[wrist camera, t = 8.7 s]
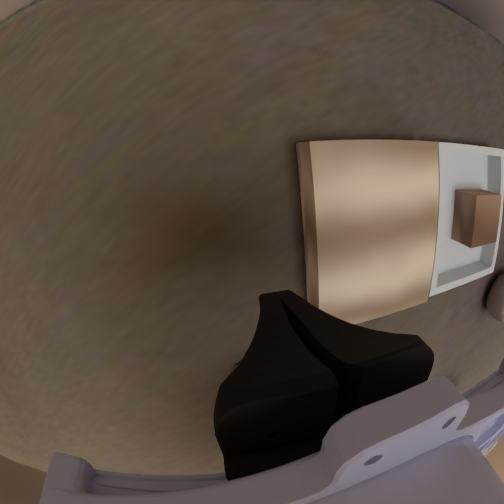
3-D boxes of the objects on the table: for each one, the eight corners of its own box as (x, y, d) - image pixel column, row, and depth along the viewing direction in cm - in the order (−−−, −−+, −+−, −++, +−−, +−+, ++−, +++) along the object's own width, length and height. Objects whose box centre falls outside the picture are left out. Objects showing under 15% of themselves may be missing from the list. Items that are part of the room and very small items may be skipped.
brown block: (470, 248, 21) (451, 238, 23) (496, 242, 21) (477, 233, 24) (476, 195, 19) (454, 189, 22) (501, 194, 19) (481, 189, 22)
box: (480, 264, 26) (493, 272, 24) (415, 286, 25) (429, 296, 23) (488, 147, 21) (504, 149, 19) (420, 141, 20) (438, 141, 18)
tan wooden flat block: (409, 287, 25) (427, 301, 22) (307, 313, 24) (319, 333, 21) (414, 140, 20) (437, 141, 17) (295, 142, 19) (309, 141, 16)
